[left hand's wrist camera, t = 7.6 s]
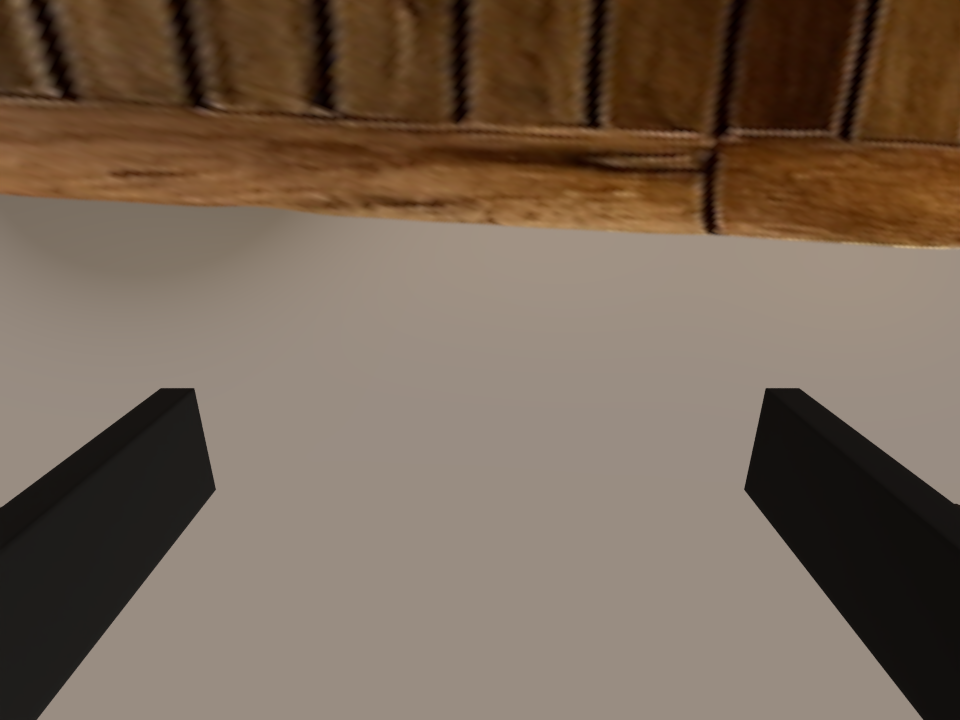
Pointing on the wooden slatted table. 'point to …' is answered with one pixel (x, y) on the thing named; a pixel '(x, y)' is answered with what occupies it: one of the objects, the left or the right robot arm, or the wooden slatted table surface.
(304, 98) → the wooden slatted table surface
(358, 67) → the wooden slatted table surface
